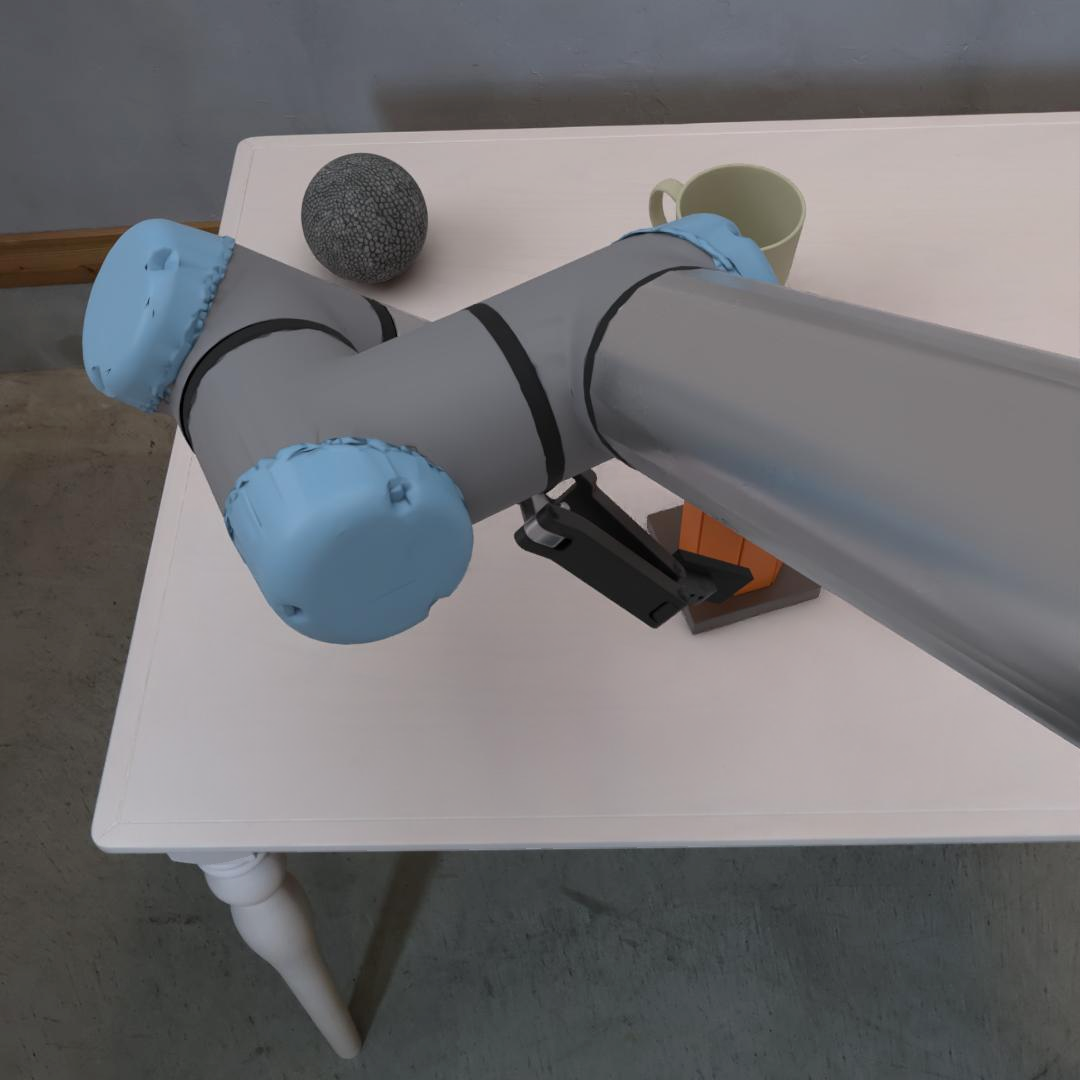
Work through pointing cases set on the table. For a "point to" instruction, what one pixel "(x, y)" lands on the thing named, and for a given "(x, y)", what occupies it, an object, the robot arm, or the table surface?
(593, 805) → the table surface
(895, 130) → the table surface
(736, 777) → the table surface
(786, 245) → the mug
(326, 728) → the table surface
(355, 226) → the decorative ball
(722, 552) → the orange octagonal sleeve
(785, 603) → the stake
